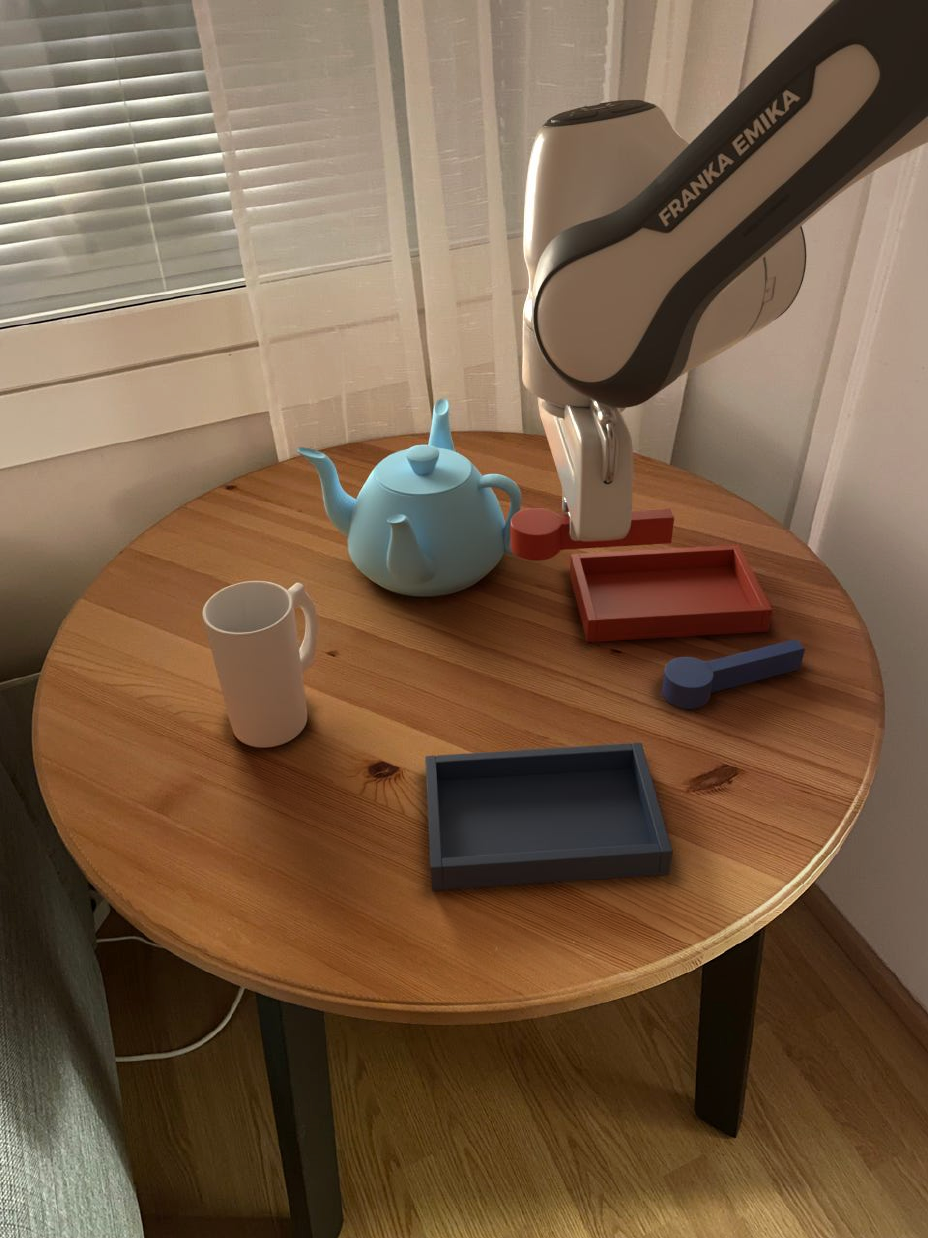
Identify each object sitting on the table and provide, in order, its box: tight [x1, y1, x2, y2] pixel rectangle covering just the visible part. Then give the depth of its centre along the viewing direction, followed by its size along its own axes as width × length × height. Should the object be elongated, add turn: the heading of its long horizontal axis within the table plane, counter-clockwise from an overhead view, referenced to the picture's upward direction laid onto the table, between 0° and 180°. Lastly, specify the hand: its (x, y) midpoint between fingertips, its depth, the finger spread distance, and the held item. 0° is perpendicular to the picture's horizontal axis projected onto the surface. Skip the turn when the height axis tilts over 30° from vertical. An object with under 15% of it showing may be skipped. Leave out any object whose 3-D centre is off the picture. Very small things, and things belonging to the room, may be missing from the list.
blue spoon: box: [661, 638, 806, 710], centre depth 85 cm, size 13×4×2 cm, turn 109°
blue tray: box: [424, 742, 673, 892], centre depth 73 cm, size 17×11×2 cm, turn 94°
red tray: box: [569, 544, 773, 643], centre depth 94 cm, size 17×11×2 cm, turn 94°
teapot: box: [296, 398, 523, 598], centre depth 98 cm, size 17×19×12 cm
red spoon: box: [510, 507, 675, 562], centre depth 79 cm, size 13×4×2 cm, turn 94°
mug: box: [201, 580, 319, 748], centre depth 81 cm, size 10×7×12 cm, turn 143°
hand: (577, 525), depth 79 cm, fingers closed on red spoon, 1 cm apart
